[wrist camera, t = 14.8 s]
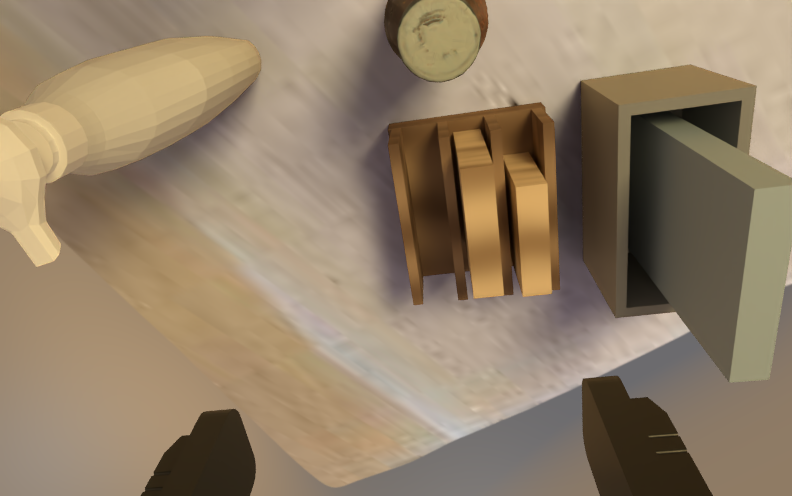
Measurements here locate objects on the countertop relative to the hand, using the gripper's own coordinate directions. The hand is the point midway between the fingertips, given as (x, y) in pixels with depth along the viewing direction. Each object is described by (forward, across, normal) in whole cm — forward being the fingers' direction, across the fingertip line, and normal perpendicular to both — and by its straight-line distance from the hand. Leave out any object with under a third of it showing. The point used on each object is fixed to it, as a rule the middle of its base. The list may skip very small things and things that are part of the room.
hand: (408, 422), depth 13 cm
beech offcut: (+36, -7, +10) cm, 38 cm away
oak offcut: (+36, -4, +8) cm, 37 cm away
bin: (+38, -18, +8) cm, 43 cm away
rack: (+38, -4, +8) cm, 39 cm away
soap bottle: (+38, +18, -4) cm, 43 cm away
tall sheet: (+37, -18, +9) cm, 42 cm away
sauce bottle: (+38, -2, -7) cm, 39 cm away
